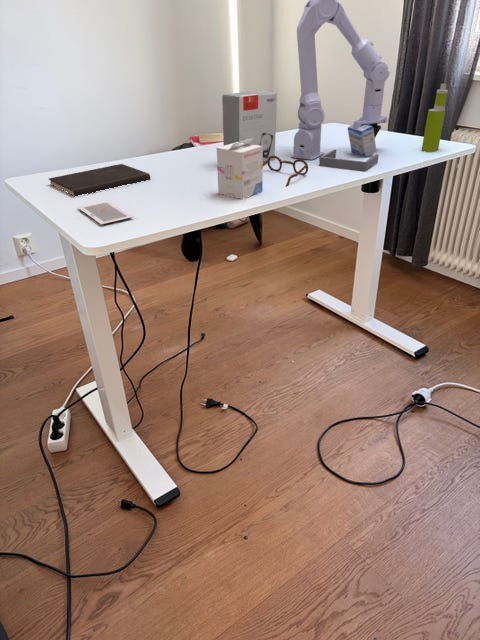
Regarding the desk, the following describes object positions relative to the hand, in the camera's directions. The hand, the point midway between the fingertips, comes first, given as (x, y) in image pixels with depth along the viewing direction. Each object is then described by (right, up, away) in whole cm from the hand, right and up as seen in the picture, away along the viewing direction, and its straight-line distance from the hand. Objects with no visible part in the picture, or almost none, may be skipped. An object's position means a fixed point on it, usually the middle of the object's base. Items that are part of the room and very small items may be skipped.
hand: (367, 148), depth 161 cm
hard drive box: (-39, -7, -7) cm, 41 cm away
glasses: (-32, -17, -23) cm, 43 cm away
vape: (+21, 0, +2) cm, 21 cm away
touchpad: (-74, -33, -47) cm, 94 cm away
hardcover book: (-82, -19, -24) cm, 87 cm away
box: (-9, -9, -12) cm, 18 cm away
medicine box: (-2, -2, -2) cm, 3 cm away
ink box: (-42, -24, -35) cm, 60 cm away
